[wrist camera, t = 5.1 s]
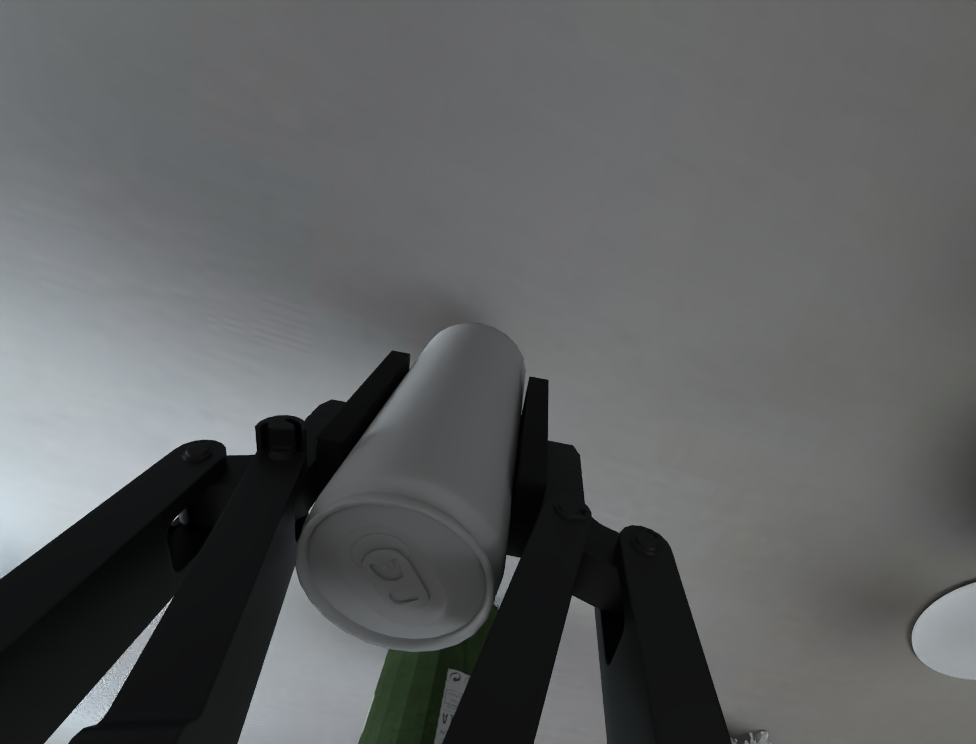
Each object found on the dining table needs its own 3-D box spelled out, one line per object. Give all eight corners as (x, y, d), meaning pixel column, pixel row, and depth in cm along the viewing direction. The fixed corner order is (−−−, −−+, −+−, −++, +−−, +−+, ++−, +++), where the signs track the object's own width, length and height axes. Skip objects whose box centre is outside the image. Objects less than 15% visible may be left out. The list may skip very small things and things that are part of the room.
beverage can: (503, 302, 19) (442, 468, 9) (543, 397, 21) (534, 639, 10) (406, 340, 21) (246, 525, 10) (450, 426, 22) (354, 669, 11)
